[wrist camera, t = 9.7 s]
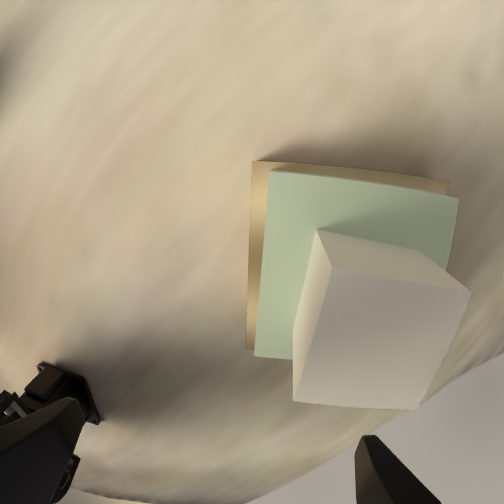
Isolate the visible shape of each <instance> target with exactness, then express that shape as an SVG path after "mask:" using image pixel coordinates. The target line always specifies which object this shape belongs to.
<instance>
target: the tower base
mask: <svg viewBox="0 0 504 504" xmlns="http://www.w3.org/2000/svg"><path fill="white" fill-rule="evenodd" d="M271 170H281V171H292V172H302V173H312V174H320V175H329V176H337V177H345V178H353V179H360V180H367V181H374V182H380V183H387V184H393V185H399V186H405V187H411V188H416V189H422V190H427V191H432V192H436V193H440V194H444V195H447V192H448V181H443V180H438V179H432V178H426V177H419V176H413V175H406V174H399V173H391V172H384V171H376V170H367V169H358V168H348V167H338V166H327V165H315V164H301V163H285V162H265V161H252V176H251V204H250V233H249V262H248V293H247V323H246V348H248V349H254V348H255V337H256V326H257V314H258V303H259V291H260V280H261V268H262V256H263V244H264V232H265V219H266V206H267V194H268V181H269V171H271Z"/></svg>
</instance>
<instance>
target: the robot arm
mask: <svg viewBox="0 0 504 504" xmlns="http://www.w3.org/2000/svg"><path fill="white" fill-rule="evenodd" d="M37 369H38V372H39V374H38V375H37V376H36V377H35V378H34V379H33V380H32V381H31V382H30V383H29V384H28V385H27V386H26V387H25V389H24V390H25V392H24V393H23V394H22V395H21V396H20V397H18V395H17V394H16V392H13V393H12V394H10V393H9V392H7V391H6V390H4V391H3V392H2V393H1V394H0V504H55V503H57V502H58V501H60V500H61V499H62V498H63V497H64V496H65V494H66V493H67V491H68V490H69V487H70V485H71V482H72V480H73V477H74V475H75V472H76V469H77V467H78V464H79V462H80V458H79V457H78V456H77V455H74V454H73V452H74V449H75V446H76V444H77V441H78V438H79V435H80V433H81V430H82V427H83V426H84V424H85V423H86V422H89V423H92V424H95V425H99V424H100V422H101V421H100V418H99V416H98V413H97V410H96V408H95V405H94V402H93V400H92V397H91V394H90V391H89V389H88V386H87V383H86V380H85V379H84V378H83V377H81V376H78V375H75V374H72V373H68V372H65V371H62V370H59V369H56V368H53V367H50V366H47V365H44V364H41V363H39V364H38V365H37ZM4 411H5V412H6V413H7V414H8V415H6V414H5V413H4ZM355 479H356V501H357V504H441V502H440V501H439V500H438V499H437V498H436V497H435V496H434V495H433V494H432V493H431V492H430V491H429V490H428V489H427V488H426V487H425V486H424V485H423V484H422V483H421V482H420V481H419V480H418V479H417V478H416V476H414V475H413V473H412V472H411V471H410V470H409V469H408V468H407V467H406V466H405V465H404V464H403V463H402V462H401V461H400V460H399V459H398V458H397V457H396V456H395V455H394V454H393V453H392V452H391V450H390V449H389V448H388V447H387V446H386V445H385V444H384V443H383V442H382V441H381V440H380V439H379V438H378V437H377V436H376V435H364V436H362V437H361V439H360V442H359V444H358V447H357V449H356V452H355Z"/></svg>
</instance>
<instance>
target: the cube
mask: <svg viewBox="0 0 504 504" xmlns="http://www.w3.org/2000/svg"><path fill="white" fill-rule="evenodd" d="M471 295H472V292H470V291H469V290H468V289H467V288H466V287H464V286H463V285H462V284H461V283H459V282H458V281H457V280H456V279H454V278H453V277H452V276H451V275H450V274H448V273H447V272H446V271H444V270H443V269H442V268H441V267H439V266H438V265H437V264H436V263H434V262H433V261H432V260H430V259H429V258H428V257H426V256H425V255H424V254H422V253H421V252H420V251H418V250H414V249H409V248H405V247H400V246H396V245H391V244H386V243H382V242H377V241H372V240H367V239H363V238H358V237H353V236H348V235H343V234H338V233H333V232H328V231H323V230H318V229H316V231H315V236H314V241H313V246H312V250H311V255H310V259H309V264H308V268H307V272H306V277H305V281H304V285H303V290H302V294H301V298H300V302H299V306H298V310H297V314H296V318H295V322H294V326H293V330H292V331H293V401H298V402H305V403H314V404H323V405H333V406H344V407H358V408H376V409H417V408H418V406H419V405H420V403H421V401H422V400H423V398H424V396H425V394H426V393H427V391H428V389H429V387H430V385H431V384H432V382H433V380H434V378H435V376H436V374H437V372H438V370H439V368H440V366H441V364H442V362H443V360H444V358H445V356H446V354H447V352H448V350H449V348H450V346H451V344H452V341H453V339H454V337H455V335H456V332H457V330H458V328H459V325H460V323H461V321H462V318H463V316H464V313H465V311H466V308H467V306H468V303H469V300H470V298H471Z"/></svg>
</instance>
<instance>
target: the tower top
mask: <svg viewBox="0 0 504 504" xmlns="http://www.w3.org/2000/svg"><path fill="white" fill-rule="evenodd" d="M459 200H460V199H459V198H455V197H451V196H448V195H444V194H440V193H436V192H432V191H427V190H422V189H416V188H411V187H405V186H399V185H393V184H387V183H380V182H374V181H367V180H360V179H353V178H345V177H337V176H329V175H320V174H312V173H302V172H292V171H281V170H271V171H269V181H268V194H267V206H266V219H265V232H264V244H263V256H262V268H261V280H260V291H259V303H258V314H257V326H256V337H255V348H254V356H258V357H267V358H277V359H288V360H293V331H292V330H293V326H294V322H295V318H296V314H297V310H298V306H299V302H300V298H301V294H302V290H303V285H304V281H305V277H306V272H307V268H308V264H309V259H310V255H311V250H312V246H313V241H314V236H315V231H316V229H318V230H323V231H328V232H333V233H338V234H343V235H348V236H353V237H358V238H363V239H367V240H372V241H377V242H382V243H386V244H391V245H396V246H400V247H405V248H409V249H414V250H418V251H420V252H421V253H422V254H424V255H425V256H426V257H428V258H429V259H430V260H432V261H433V262H434V263H436V264H437V265H438V266H439V267H441V268H442V269H443V270H444V271H446V269H447V265H448V261H449V256H450V251H451V247H452V242H453V237H454V231H455V226H456V220H457V214H458V207H459Z"/></svg>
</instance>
